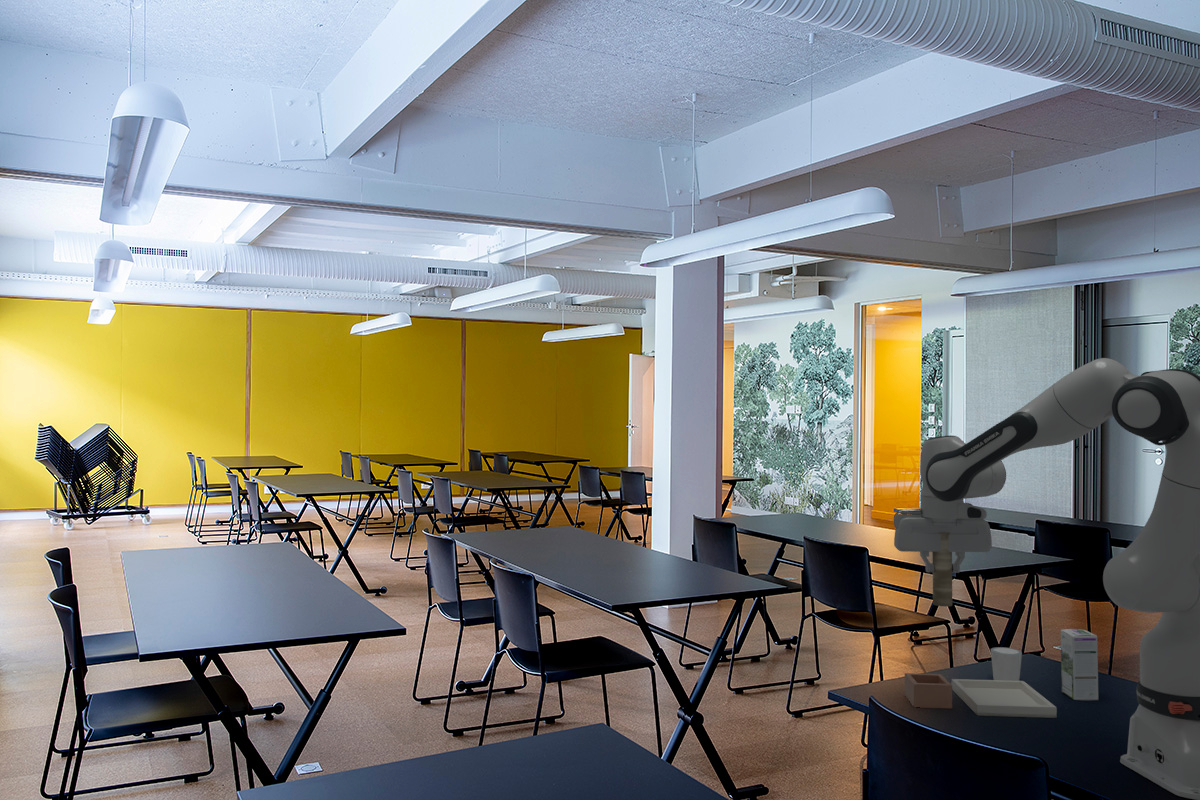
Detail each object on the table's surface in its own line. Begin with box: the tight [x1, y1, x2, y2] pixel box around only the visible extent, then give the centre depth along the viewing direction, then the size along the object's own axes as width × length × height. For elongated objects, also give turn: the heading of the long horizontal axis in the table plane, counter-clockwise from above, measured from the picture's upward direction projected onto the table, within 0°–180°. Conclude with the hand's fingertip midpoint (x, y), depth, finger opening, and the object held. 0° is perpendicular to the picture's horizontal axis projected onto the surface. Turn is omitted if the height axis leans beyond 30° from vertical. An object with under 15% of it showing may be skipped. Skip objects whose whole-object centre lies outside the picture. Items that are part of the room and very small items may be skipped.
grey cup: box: [990, 646, 1023, 681], centre depth 213 cm, size 7×7×7 cm
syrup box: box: [1060, 628, 1099, 701], centre depth 201 cm, size 6×6×14 cm
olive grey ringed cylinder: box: [931, 533, 953, 607], centre depth 197 cm, size 4×4×16 cm
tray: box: [951, 678, 1058, 719], centre depth 196 cm, size 18×16×2 cm
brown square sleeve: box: [904, 672, 953, 710], centre depth 197 cm, size 8×8×5 cm
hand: (942, 572), depth 197 cm, fingers closed on olive grey ringed cylinder, 4 cm apart
